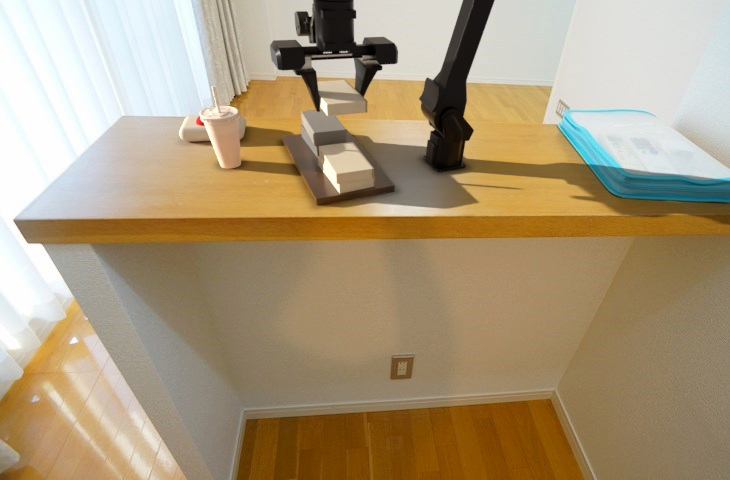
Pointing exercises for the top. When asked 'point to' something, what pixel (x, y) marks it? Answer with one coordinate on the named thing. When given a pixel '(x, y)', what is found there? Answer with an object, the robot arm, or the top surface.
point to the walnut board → (319, 181)
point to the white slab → (202, 129)
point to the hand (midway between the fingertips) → (337, 109)
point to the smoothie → (223, 132)
